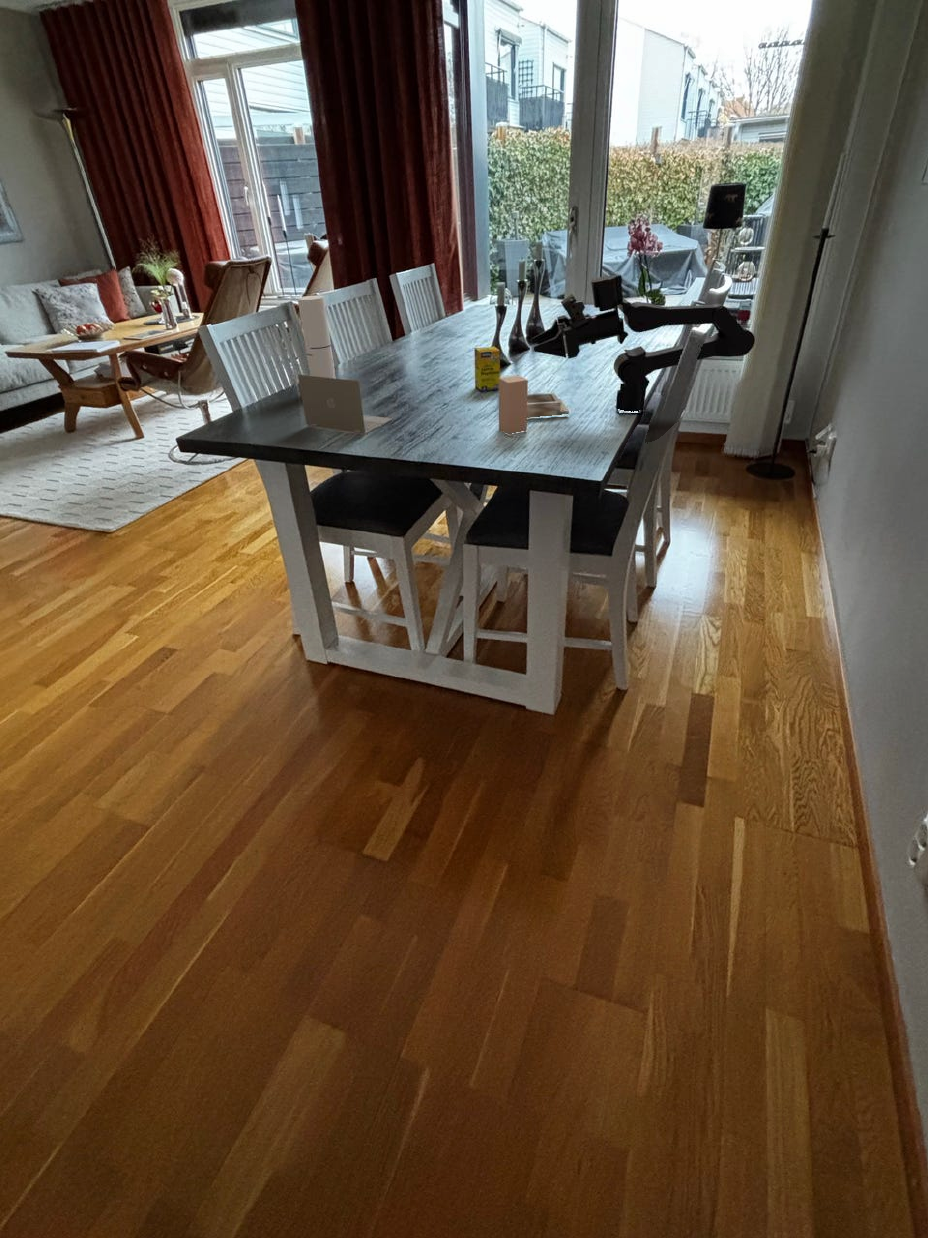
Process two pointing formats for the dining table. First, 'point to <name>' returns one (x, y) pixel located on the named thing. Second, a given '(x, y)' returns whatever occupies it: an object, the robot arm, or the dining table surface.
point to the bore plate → (545, 405)
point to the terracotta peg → (513, 404)
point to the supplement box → (487, 368)
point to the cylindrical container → (316, 336)
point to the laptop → (336, 405)
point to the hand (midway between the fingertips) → (532, 345)
